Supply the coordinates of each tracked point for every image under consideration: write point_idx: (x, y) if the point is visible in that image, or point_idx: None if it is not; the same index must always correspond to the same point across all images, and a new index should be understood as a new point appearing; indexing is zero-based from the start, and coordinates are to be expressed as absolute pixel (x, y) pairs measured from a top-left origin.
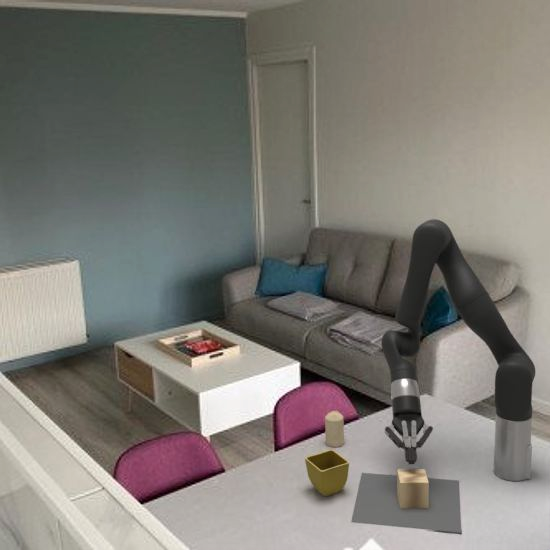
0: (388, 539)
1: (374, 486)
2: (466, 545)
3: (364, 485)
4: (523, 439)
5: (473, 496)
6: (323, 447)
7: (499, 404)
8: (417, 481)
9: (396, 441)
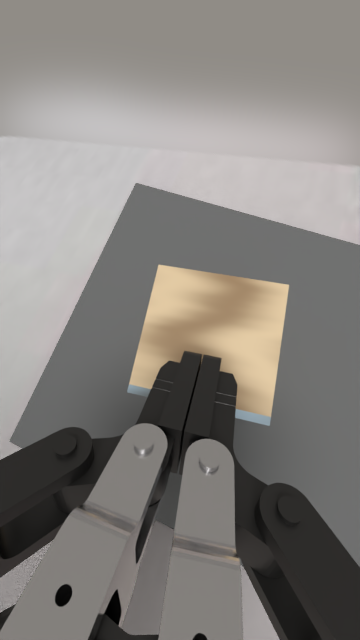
0: (335, 187)
1: (327, 483)
2: (145, 148)
3: None
4: None
5: (18, 344)
6: None
7: None
8: (204, 282)
9: (336, 541)
